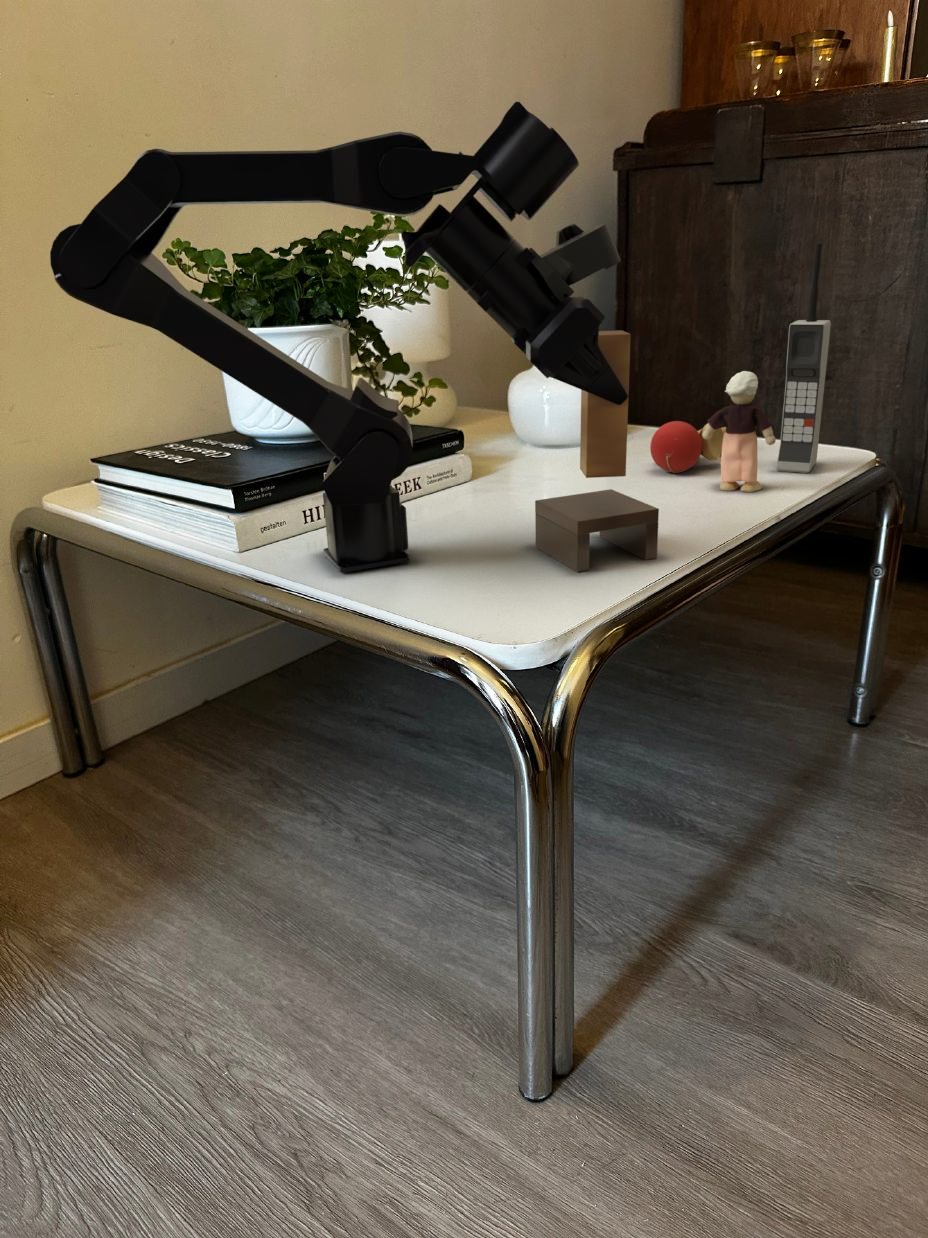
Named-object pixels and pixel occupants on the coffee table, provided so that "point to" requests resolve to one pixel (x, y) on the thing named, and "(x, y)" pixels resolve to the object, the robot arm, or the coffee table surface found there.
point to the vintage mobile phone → (804, 386)
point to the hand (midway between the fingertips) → (619, 397)
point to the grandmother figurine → (740, 434)
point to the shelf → (594, 526)
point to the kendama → (684, 446)
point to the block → (606, 415)
